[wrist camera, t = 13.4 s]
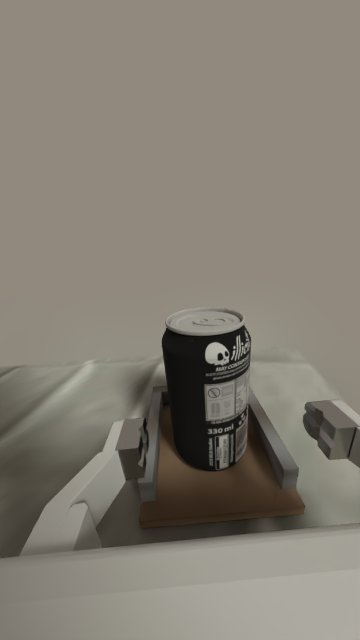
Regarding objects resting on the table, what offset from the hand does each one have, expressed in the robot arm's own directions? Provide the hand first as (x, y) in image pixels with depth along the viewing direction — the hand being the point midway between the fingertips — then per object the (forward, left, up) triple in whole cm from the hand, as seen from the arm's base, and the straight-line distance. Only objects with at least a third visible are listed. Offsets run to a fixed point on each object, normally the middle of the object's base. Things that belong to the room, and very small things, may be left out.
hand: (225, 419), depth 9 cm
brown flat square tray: (+3, +5, -9) cm, 11 cm away
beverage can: (+3, +5, -8) cm, 10 cm away
